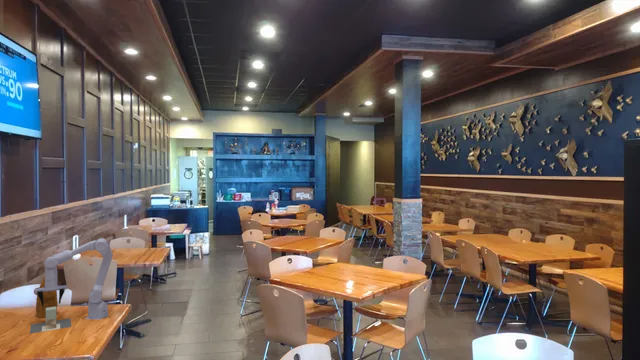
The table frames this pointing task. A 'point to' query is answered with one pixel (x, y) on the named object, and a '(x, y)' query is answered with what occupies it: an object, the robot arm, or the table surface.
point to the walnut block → (50, 324)
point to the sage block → (50, 313)
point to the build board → (42, 327)
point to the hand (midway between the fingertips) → (51, 304)
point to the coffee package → (46, 301)
